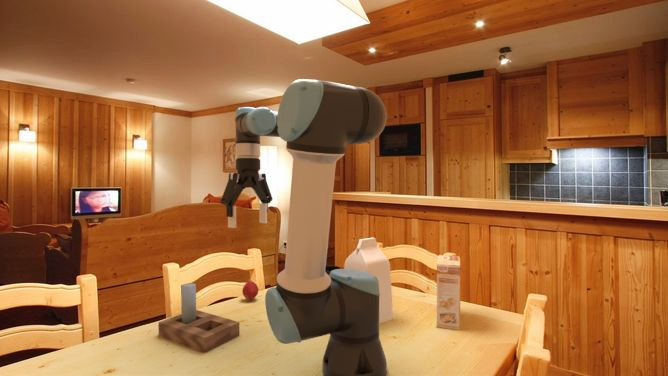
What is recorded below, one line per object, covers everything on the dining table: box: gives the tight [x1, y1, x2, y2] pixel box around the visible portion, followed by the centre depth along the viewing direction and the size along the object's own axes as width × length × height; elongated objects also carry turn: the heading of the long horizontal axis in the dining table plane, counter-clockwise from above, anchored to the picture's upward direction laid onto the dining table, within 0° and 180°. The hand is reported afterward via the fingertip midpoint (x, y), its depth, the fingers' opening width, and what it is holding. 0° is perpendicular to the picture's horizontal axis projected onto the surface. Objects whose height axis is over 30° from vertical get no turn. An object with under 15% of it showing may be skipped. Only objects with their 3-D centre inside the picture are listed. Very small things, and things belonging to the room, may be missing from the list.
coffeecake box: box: [436, 254, 462, 331], centre depth 114 cm, size 15×7×20 cm, turn 161°
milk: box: [343, 237, 394, 325], centre depth 115 cm, size 12×12×26 cm
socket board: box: [158, 309, 240, 354], centre depth 103 cm, size 20×12×4 cm, turn 59°
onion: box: [241, 279, 259, 302], centre depth 133 cm, size 6×6×8 cm
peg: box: [180, 283, 197, 324], centre depth 105 cm, size 4×4×14 cm
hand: (248, 225), depth 112 cm, fingers open, 13 cm apart
